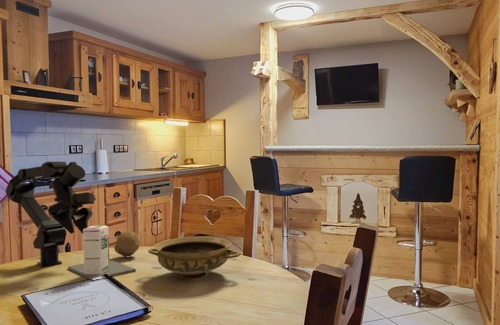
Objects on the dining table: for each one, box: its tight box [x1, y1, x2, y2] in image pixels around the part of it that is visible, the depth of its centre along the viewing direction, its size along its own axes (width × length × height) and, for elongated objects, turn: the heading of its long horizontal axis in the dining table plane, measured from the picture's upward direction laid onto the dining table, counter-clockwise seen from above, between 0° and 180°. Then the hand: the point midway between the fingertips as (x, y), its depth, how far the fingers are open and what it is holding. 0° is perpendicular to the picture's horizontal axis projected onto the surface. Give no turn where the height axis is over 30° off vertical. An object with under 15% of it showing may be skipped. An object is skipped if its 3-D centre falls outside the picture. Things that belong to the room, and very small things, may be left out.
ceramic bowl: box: [147, 236, 241, 280], centre depth 118 cm, size 30×24×10 cm
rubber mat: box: [67, 258, 137, 280], centre depth 126 cm, size 20×14×1 cm
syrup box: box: [82, 224, 110, 275], centre depth 120 cm, size 6×6×14 cm
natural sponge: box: [114, 230, 141, 257], centre depth 143 cm, size 9×9×10 cm
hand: (79, 234), depth 126 cm, fingers open, 9 cm apart
